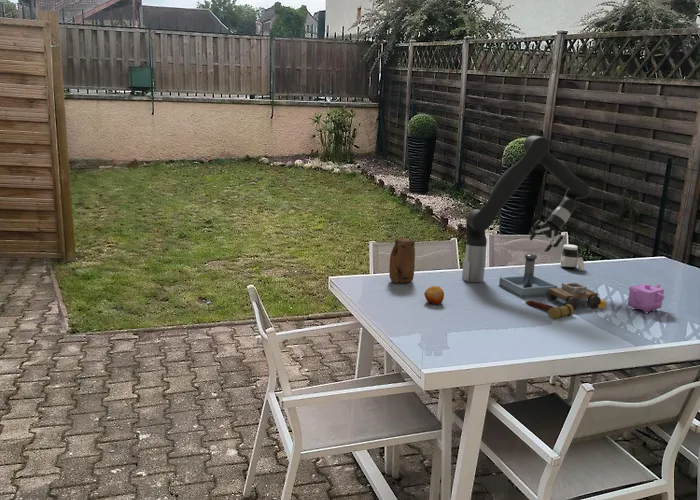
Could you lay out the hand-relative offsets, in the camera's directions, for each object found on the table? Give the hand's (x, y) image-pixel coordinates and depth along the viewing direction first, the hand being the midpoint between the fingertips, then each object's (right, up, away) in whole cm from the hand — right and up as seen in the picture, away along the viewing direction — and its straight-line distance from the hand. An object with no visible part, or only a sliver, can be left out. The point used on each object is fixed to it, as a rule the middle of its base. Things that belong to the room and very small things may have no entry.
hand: (537, 245), depth 293 cm
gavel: (-8, -27, -35) cm, 45 cm away
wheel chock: (+18, -26, -28) cm, 42 cm away
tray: (-7, -20, -8) cm, 23 cm away
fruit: (-52, -24, -31) cm, 65 cm away
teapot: (+35, -27, -30) cm, 53 cm away
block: (-64, -17, -2) cm, 66 cm away
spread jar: (+27, -12, +32) cm, 44 cm away
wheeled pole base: (+7, -25, -25) cm, 36 cm away
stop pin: (-7, -19, -8) cm, 22 cm away
